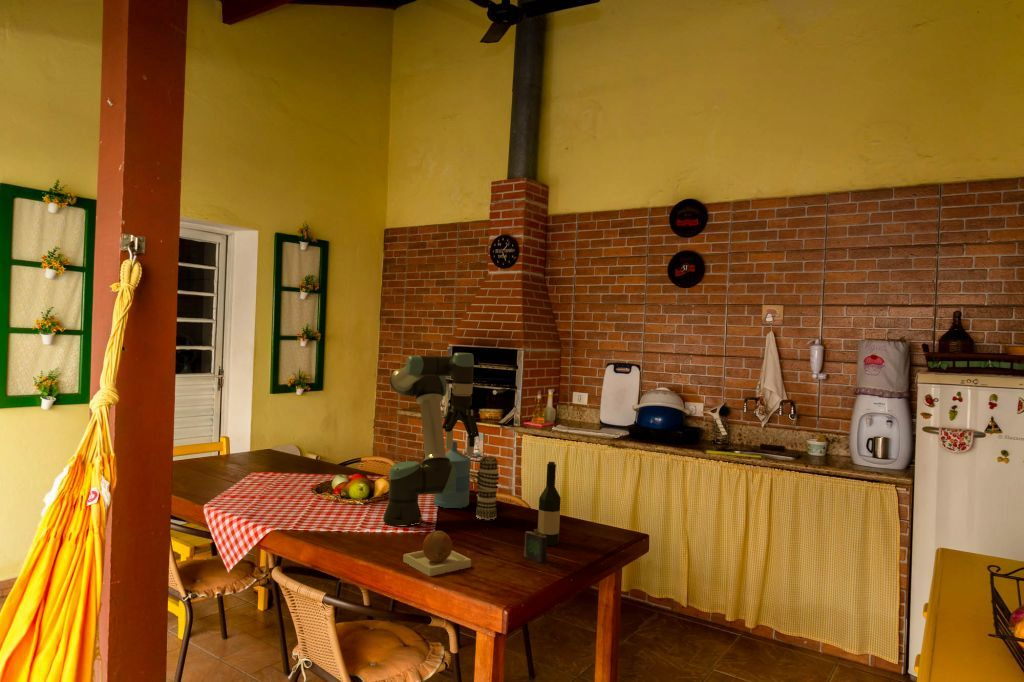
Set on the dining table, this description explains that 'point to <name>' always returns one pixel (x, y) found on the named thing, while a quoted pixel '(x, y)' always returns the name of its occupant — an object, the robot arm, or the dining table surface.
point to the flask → (535, 546)
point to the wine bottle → (549, 508)
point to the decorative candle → (487, 488)
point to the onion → (437, 546)
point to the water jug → (457, 481)
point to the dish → (436, 563)
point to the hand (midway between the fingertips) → (459, 452)
